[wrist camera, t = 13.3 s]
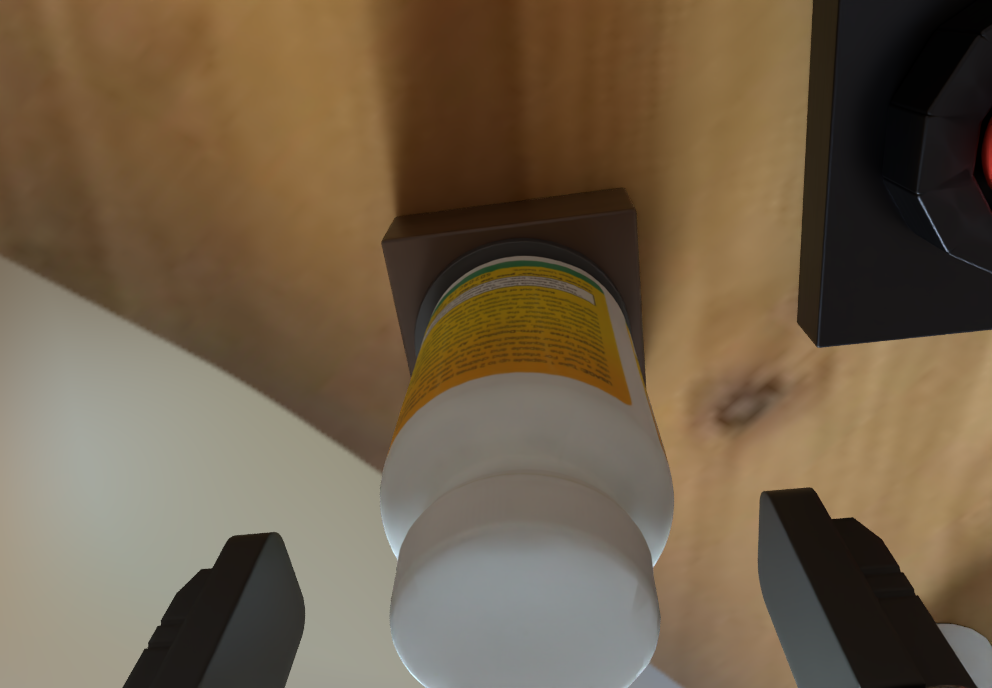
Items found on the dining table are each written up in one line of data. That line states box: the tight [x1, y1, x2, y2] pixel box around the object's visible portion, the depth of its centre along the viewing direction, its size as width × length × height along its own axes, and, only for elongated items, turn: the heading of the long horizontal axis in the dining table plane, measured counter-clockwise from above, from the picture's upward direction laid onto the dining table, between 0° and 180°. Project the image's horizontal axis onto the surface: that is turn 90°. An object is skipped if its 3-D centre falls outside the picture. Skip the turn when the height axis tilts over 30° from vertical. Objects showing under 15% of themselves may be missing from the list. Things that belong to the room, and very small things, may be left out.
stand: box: [381, 188, 646, 387], centre depth 20 cm, size 6×6×2 cm
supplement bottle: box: [380, 256, 674, 688], centre depth 15 cm, size 5×5×10 cm
